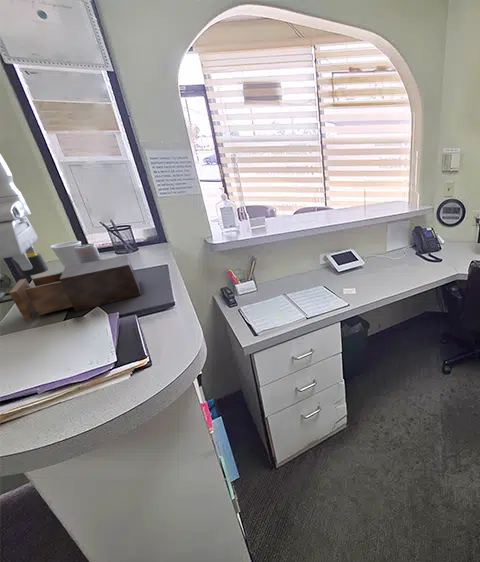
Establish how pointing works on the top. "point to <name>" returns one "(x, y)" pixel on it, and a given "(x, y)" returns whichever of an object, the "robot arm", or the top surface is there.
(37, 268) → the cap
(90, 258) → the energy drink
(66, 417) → the top surface
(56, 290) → the drawer
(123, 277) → the cabinet
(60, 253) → the dixie cup
